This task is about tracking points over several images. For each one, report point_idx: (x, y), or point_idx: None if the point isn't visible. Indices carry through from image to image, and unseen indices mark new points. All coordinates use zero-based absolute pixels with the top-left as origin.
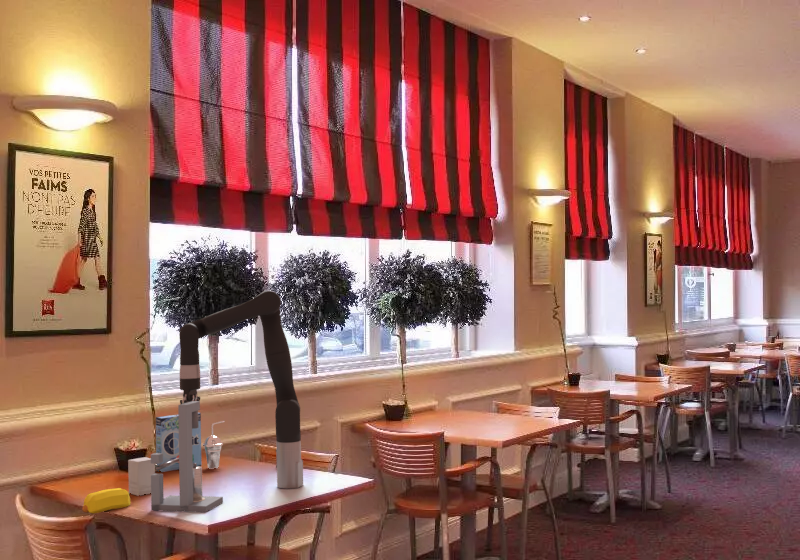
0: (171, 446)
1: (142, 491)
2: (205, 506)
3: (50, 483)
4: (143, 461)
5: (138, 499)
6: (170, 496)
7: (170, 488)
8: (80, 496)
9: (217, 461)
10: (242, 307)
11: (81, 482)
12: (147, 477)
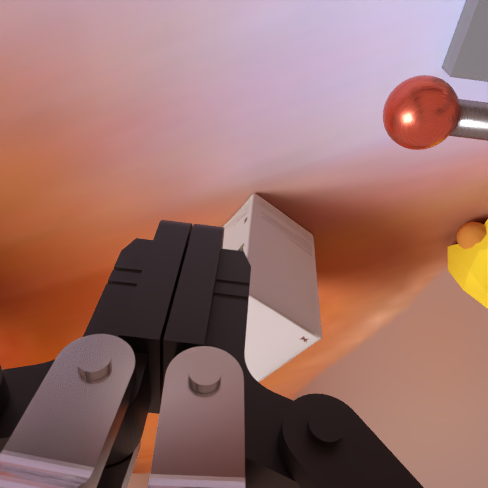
0: None
1: (300, 233)
2: None
3: (144, 464)
4: (298, 322)
5: (375, 215)
6: (479, 66)
7: (167, 157)
8: (301, 379)
9: None
10: None
11: None
12: (283, 255)
